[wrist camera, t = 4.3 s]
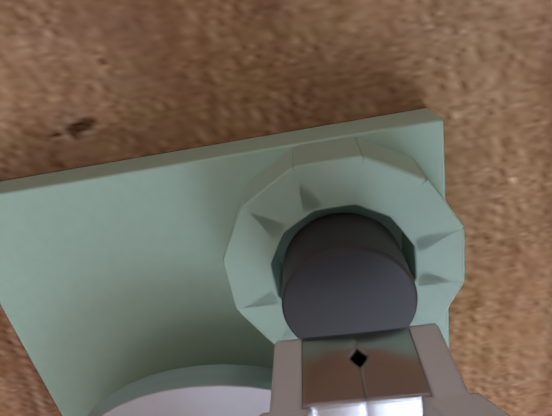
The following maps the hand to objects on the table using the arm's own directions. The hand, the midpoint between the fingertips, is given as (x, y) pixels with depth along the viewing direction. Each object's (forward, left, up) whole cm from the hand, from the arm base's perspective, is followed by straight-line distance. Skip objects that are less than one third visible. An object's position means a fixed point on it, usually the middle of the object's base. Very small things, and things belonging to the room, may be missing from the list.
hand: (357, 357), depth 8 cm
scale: (+6, -4, -6) cm, 9 cm away
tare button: (0, 0, -3) cm, 3 cm away
